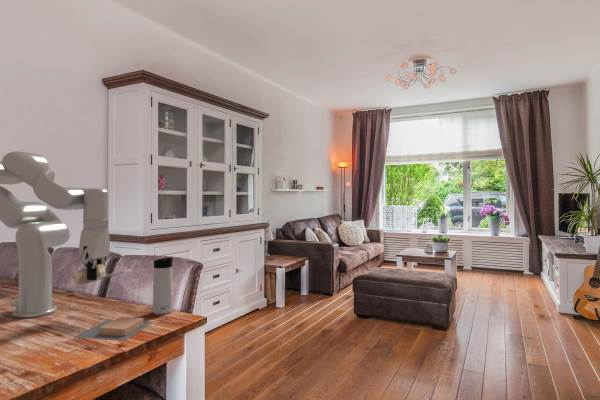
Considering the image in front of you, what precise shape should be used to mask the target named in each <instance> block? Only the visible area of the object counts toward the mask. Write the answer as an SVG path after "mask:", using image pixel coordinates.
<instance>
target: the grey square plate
mask: <svg viewBox="0 0 600 400" xmlns="http://www.w3.org/2000/svg"><path fill="white" fill-rule="evenodd" d="M113 320H114V319H110V318H107V319H106V320H104V321H101V322H100V323H98V324H96V325H94V326H92V327H90V328H88V329H86V330H85V331H83V332H80V333H79V334H76V335H74V336H73V338H75V339H76V338H78V339H92V340H105V341H107V340H108V341H109V340H110V341H122V342H124V341H127V340H128V339H130V338H132V337H134V336H135V335H136V334H138V333H140V332H141V331H143V330H144V329H145V328H148V327H149V326H150V325H152V324H153V323H154V321H144V320H143V325H142V326H140V327H139V328H137V329H136V330H134V331H132V332H131V333H129V334H128V335H126V336H115V335H100V327H102V326H104V325H106V324H108V323H109V322H111V321H113Z"/></svg>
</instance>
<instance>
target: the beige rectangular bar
mask: <svg viewBox="0 0 600 400" xmlns="http://www.w3.org/2000/svg"><path fill="white" fill-rule="evenodd" d="M95 268H97V279H96V280H87V268H86V267H85V268H82V269H79V270H74V271H71V276H72V279H73V283H74V287H78V286H82V285H85V284H88V283H93V282H96V281H101V280H103V279H107V278H108V279H109V278H111V277H116V276H118V275H123V274H126V273H129V272H132V271H133V267H131V268H130V267H129V268H127V269H123V270H119V271H116V272H113V273H108V274H107V273H106V269H105V265H104V264H99V265H95Z"/></svg>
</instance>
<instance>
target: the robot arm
mask: <svg viewBox="0 0 600 400" xmlns="http://www.w3.org/2000/svg"><path fill="white" fill-rule="evenodd" d="M55 177H56V174H55V171H54V169H52V168H50V166H49V162H48V160H47V159H46V157H44V156H43V155H42V154H38V153H35V152H34V153H33V152H24V151H16V150H15V151H10V152H7V153H6V154H4V155H3V157H2V159H1V160H0V222H1V223H2V224H3V225H4V226H6V227H8V228H9V229H13V230H14V229H17V230H16V232H15V243H16V248H17V252H18V299H17V298H15V299H13V301H12V302H10V304H9V306H10V307H15V310H14V311H12V316H13V317H14V318H18V319H19V318H20V319H21V318H22V319H24V318H25V319H26V318H37V317H42V316H47V315H49V314H50V315H51V314H52V313H55V312H56V311H57V310H58V306H57V305H56V304H53V259H52V255H51V253H50V252H49V249H48V248H54V247H60V246H62V245H64V244H65V243H67V242H68V240H69V239H70V236H71V235H70V234H71V233H70V228H69V227H68V225H67V223H66V222H64V220H63V219H61V217H60V216H59V215H57V214H56V213H55V212H54V211H53V210H52V208H53V209H56V210H61V211H69V210H70V211H71V210H74V211H75V210H77V211H78V210H83V211H82V212H83V213H82V215H83V216H82V219H83V220H82V222H83V223H82V229H81V232H80V238H79V245H78V258H79V259H80V261H79V262H80V264H81V263H82V264H83V265H84V266H85V268H87V280H96V279H97V268H95V265H99V264H104V266H105V265H106V261H107V259H108V258H109V257H110V252H111V251H110V249H111V248H110V247H111V246H110V243H111V242H110V241H111V239H110V231H109V198H110V197H109V196H110V195H109V191H108V190H107V189H106V188H85V187H84V188H83V187H75V186H73V187H72V186H71V187H69V186H62V185H59V184H57V183H56V182H55ZM21 183H25V184H26V185H28V186H29V187H31V188H32V190H33V193H34V194H35V196H36V198H37V199H38V200H40V201H41V202H38V201H23V200H21V199H19V198H18V197H17V196H15V195H14V194H13V193H12V191H10V190H9V189H7V188H5V187H3V186H1V185H11V186H12V185H18V184H21ZM44 203H45V204H44ZM46 204H47V205H46ZM49 206H50V207H51V208H50V207H49Z"/></svg>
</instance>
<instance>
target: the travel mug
mask: <svg viewBox="0 0 600 400" xmlns="http://www.w3.org/2000/svg"><path fill="white" fill-rule="evenodd" d="M173 260H174V257H173V256H172V257H162V258H157V259H153V271H152V272H153V273H152V274H153V281H152V283H153V286H152V314H153V315H155V316H166V315H170V314H172V312H173Z"/></svg>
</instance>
